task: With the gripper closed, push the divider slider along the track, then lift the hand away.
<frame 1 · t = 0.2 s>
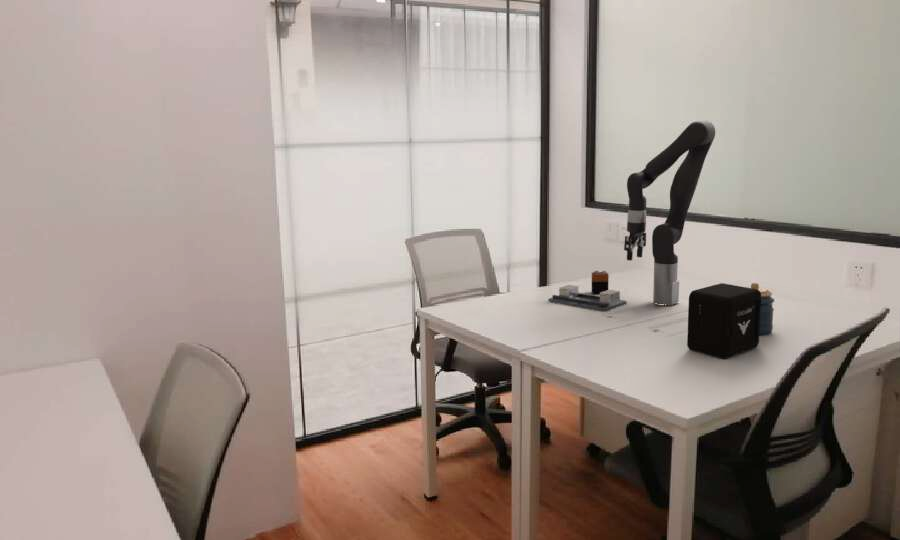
hand: (634, 258, 304), 17 cm above the table, tool pointing down, fingers open, 8 cm apart
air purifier: (724, 350, 237), on the table
divider slider: (566, 292, 308), point 4 cm above the table, slide at 0.0 cm
battery: (599, 293, 320), on the table
canister: (752, 331, 256), on the table
dark grey piece: (586, 302, 303), on the table
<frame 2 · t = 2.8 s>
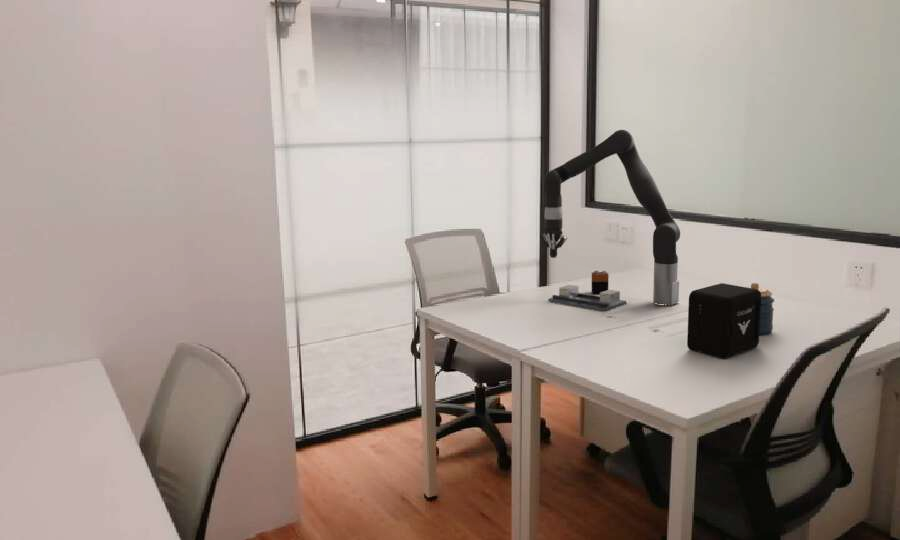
hand: (553, 257, 312), 18 cm above the table, tool pointing down, fingers closed
nothing on the table moved.
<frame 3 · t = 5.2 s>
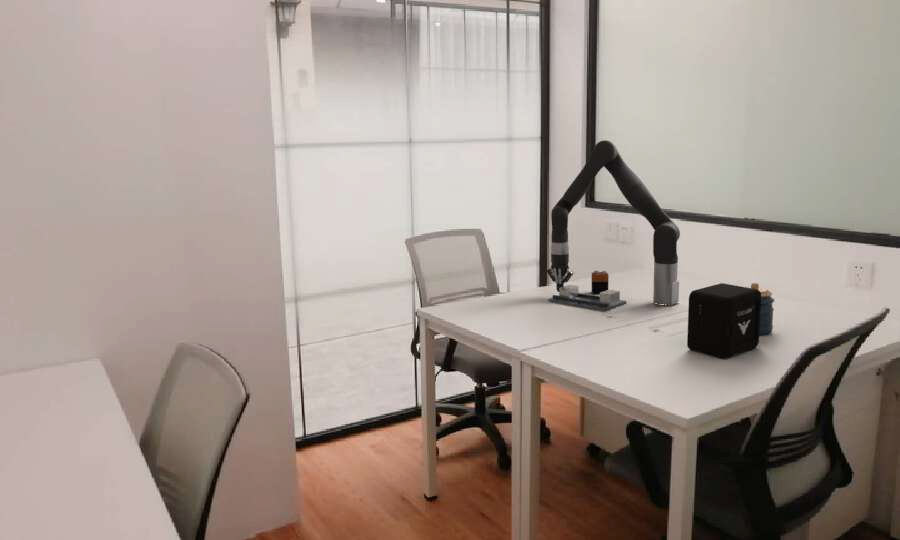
hand: (560, 291, 312), 3 cm above the table, tool pointing down, fingers closed
divider slider: (566, 292, 308), point 4 cm above the table, slide at 0.0 cm, touching gripper
everything else where it was.
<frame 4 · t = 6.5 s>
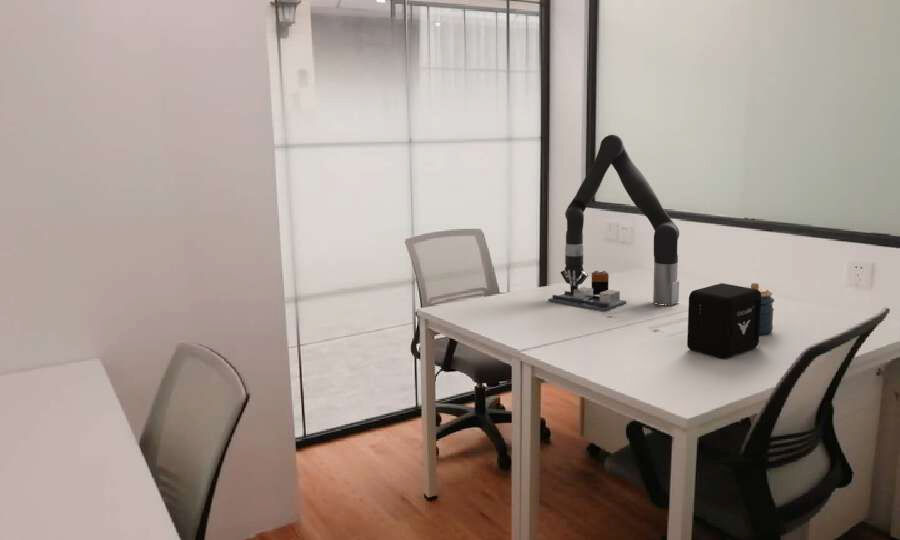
hand: (574, 293, 307), 3 cm above the table, tool pointing down, fingers closed
divider slider: (581, 294, 303), point 4 cm above the table, slide at 7.3 cm, touching gripper
everything else where it was.
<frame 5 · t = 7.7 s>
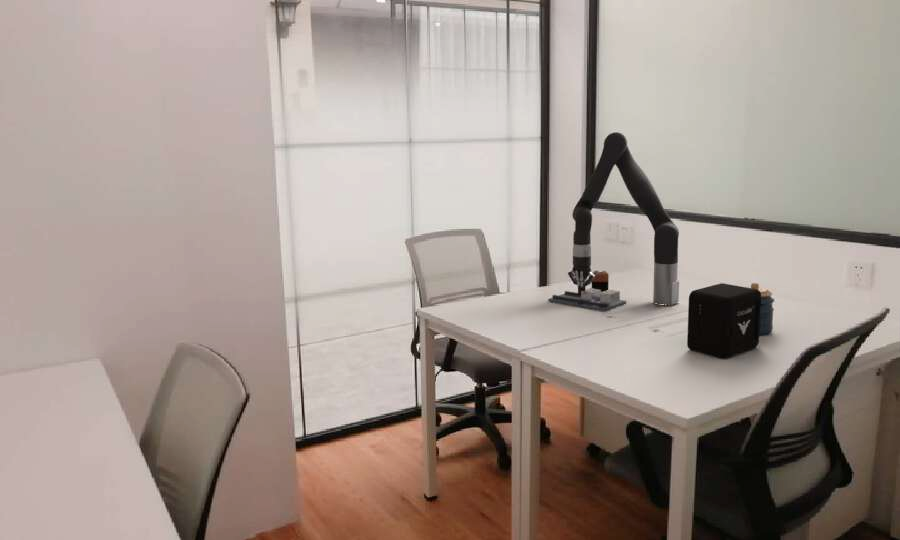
hand: (581, 294, 305), 3 cm above the table, tool pointing down, fingers closed
divider slider: (588, 295, 300), point 4 cm above the table, slide at 11.0 cm, touching gripper
everything else where it was.
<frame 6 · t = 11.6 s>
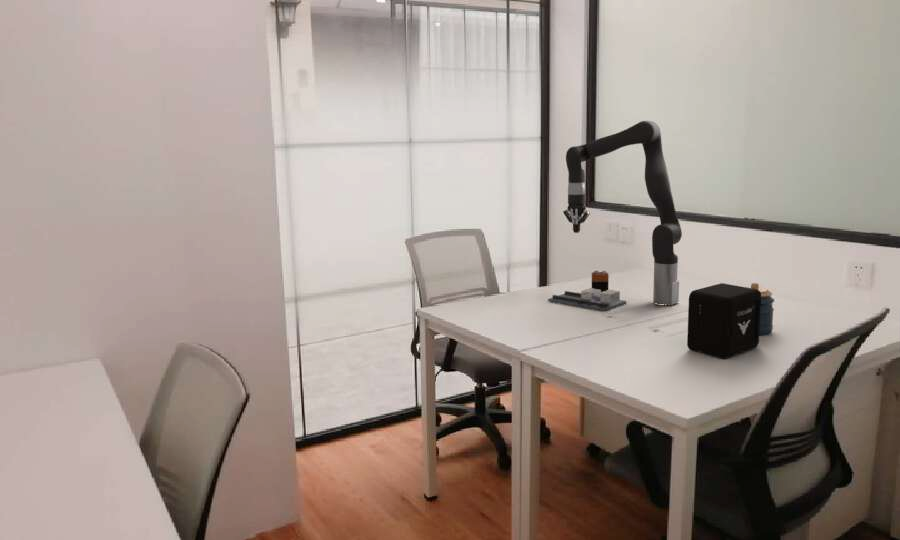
hand: (576, 232, 317), 27 cm above the table, tool pointing down, fingers closed
divider slider: (588, 295, 300), point 4 cm above the table, slide at 11.0 cm
everything else where it was.
at the end: divider slider slide at 11.0 cm; battery moved 0.2 cm from its start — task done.
